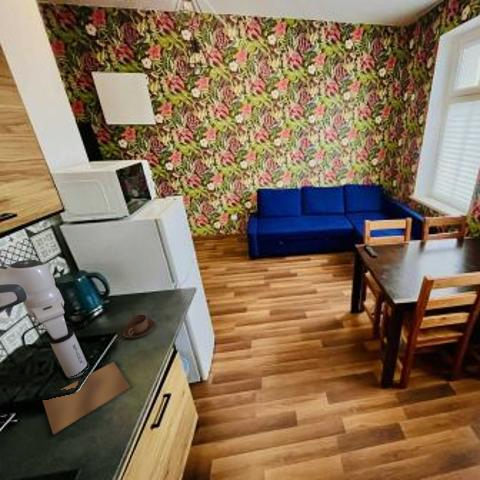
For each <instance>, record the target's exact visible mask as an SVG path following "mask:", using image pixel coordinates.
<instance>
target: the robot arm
mask: <svg viewBox="0 0 480 480" xmlns="http://www.w3.org/2000/svg"><path fill="white" fill-rule="evenodd" d="M22 303H23V305H24V307H25V308H26V311H27V313H28V315H29V316H30V317H32V318H35V320H36V321H37V322H38V324H39V323H41V325H42V326H43V327H44V329H45V330H46V331H47V332H48V333H49V334H50V336H51V337H52V338H53V339H55V340H56V339H59V338H61V337H63V336H66V335H67V334H68V331H67V326H68V325H67V322H66V320H65V315H64V314H65V309H64V305H65V301H64V297H63V296H62V294H61V292H60V289H59V288H58V287H57V286H56V280H55V277H54V276H53V273H52V271H51V270H50V268H49V266H47V264H46V263H45V262H43V261H41V260H39V259H37V260H36V259H23V260H19V261H15V262H12V263H11V264H9V266H4V265H0V312H3V311H5V310H8V309H10V308H12V307H15V306H17V305H20V304H22Z"/></svg>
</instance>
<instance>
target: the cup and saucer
mask: <svg viewBox="0 0 480 480" xmlns="http://www.w3.org/2000/svg"><path fill="white" fill-rule="evenodd" d="M154 327H155V320H153V319H151V318H147V316H146V315H145V314H137V315H134V316H132V317H130V318H128V319H127V321H126V326H125V327H124V328H123V330H122V336H123V337H124V338H126V339H137V338H141V337H143V336H146V335H147V334H148V333H150V332H151V331H152V330H154Z"/></svg>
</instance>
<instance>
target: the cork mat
mask: <svg viewBox="0 0 480 480" xmlns="http://www.w3.org/2000/svg"><path fill="white" fill-rule="evenodd" d="M89 374H90V375H89ZM89 374H88V375H89V376H88V378H87V379H86V381H85V382H84V384H83V385H82V387H81V389H80V390H79V391H78V392H76V393H74V394H70V395H65V396H61V397H56V398H52V399H49V400H42V404H43V406H44V409H45V414H46V416H47V421H48V423H49V426H50V429H51V432H52V435H56V434H57V433H59V432H60V431H63V429H66V428H67V427H69V426H70V425H72V424H73V423H76V422H77V421H79V420H80V419H82V418H83V417H85V416H87V415H88V414H90V413H91V412H94V411H95V410H97V409H98V408H100V407H102V406H103V405H105V404H106V403H108V402H110V401H112V400H113V399H114V398H116V397H118V396H119V395H121V394H122V393H124V392H126V391H127V390H130V389H131V386H130V384H129V383H128V381H127V380H126V378H125V377H124V375H123V373H122V372H121V370H120V369H119V367H118V365H117V364H116V362H114V361H112V362H110V363H108V364H107V365H104V366H102V367H101V368H98V369H97V370H95V371H93V372H91V373H89ZM78 382H79V381H78V380H76V381H74V382H72V383H70V384H68V385H67V386H65V387H63V388H61V389H60V390H63V389H66V390H68V389H71V388H76V386H77V385H78Z"/></svg>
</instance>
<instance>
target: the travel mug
mask: <svg viewBox="0 0 480 480" xmlns="http://www.w3.org/2000/svg"><path fill="white" fill-rule="evenodd" d="M66 326H67V331H68V334H67V335H66V336H63V337H61V338H59V339H56V340H55V339H53V338H52V337H51V336H50V334H49V333H48V331H47V332H46V333H44V338H45V339H48V342H49V344H50V345H51V348H52V350H53V352H54V354H55V357H56V358H57V360H58V362H59V364H60V366H61V368H62V371H63V373H64V374H65V376H66V378H67V379H76V378H78V377H80V376H83V375H84V374H85V373H84V372H83V373H84V374H83V373H81V374H79V375H77V376H74V375H76V374H78V373H79V372H81V371H82V370H83V369H84V368H85V367H86V366H87V364H88V362H87V360H86V357H85V355H84V353H83V351H82V348H81V346H80V343H79V341H78V339H77V337H76V335H75V332H74V331H73V328H72V326H70V325H66ZM87 369H89V367H88V368H87ZM87 369H86V370H87ZM87 371H88V370H87ZM71 376H74V377H71Z"/></svg>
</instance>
